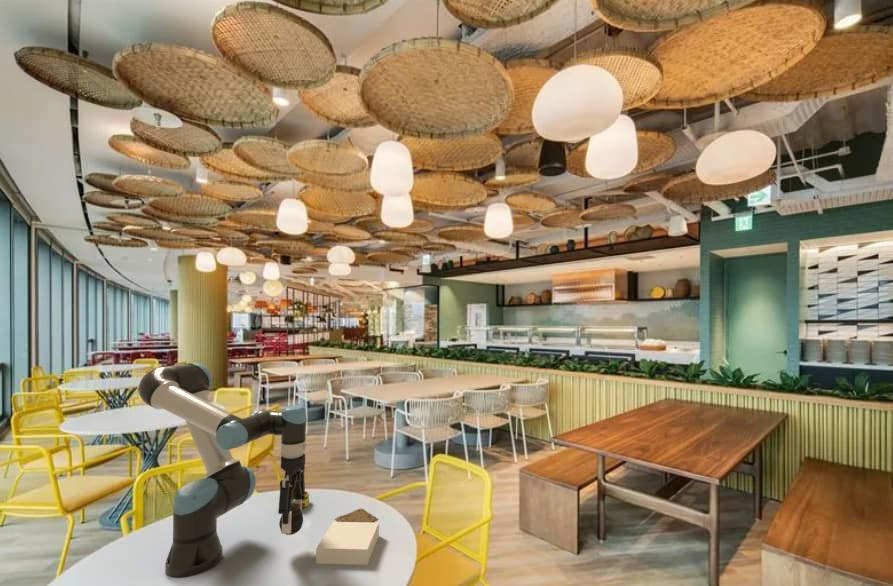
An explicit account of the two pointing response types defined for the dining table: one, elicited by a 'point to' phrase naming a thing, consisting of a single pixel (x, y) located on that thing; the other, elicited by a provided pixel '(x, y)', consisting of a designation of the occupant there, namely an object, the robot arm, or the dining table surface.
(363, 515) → the cookie
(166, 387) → the robot arm
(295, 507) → the mate gourd
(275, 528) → the dining table surface
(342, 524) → the cream square slab
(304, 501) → the cheeseburger
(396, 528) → the dining table surface
